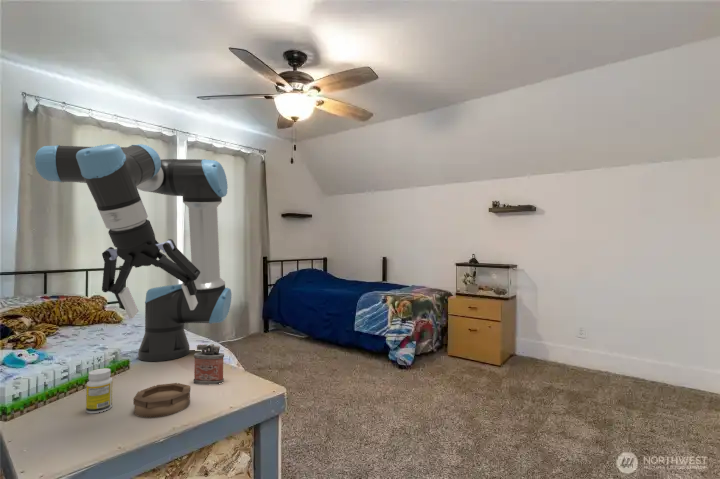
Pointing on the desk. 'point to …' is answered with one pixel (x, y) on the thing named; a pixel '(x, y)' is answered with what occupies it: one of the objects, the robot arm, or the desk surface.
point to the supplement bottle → (99, 391)
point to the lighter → (208, 365)
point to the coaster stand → (162, 400)
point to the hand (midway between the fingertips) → (164, 310)
